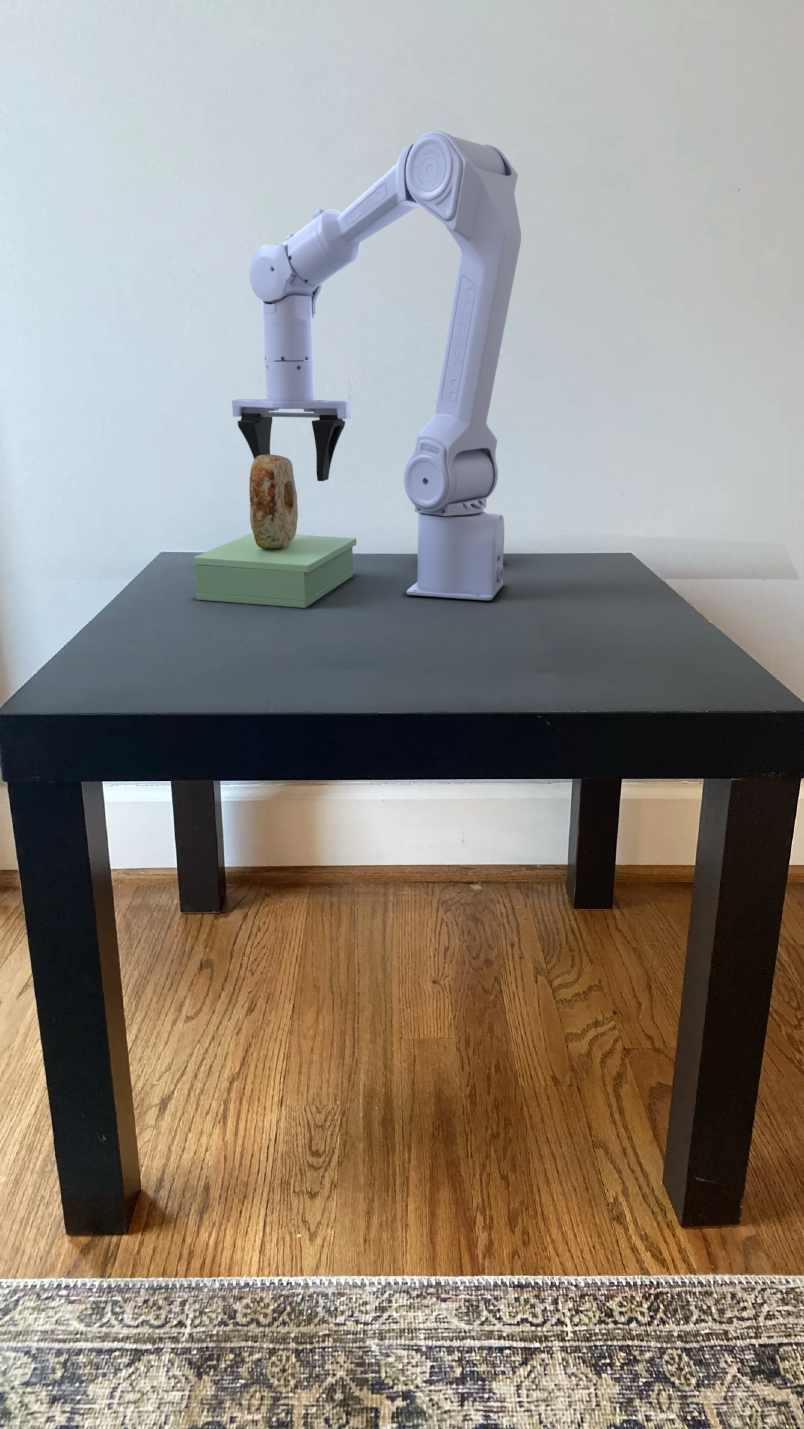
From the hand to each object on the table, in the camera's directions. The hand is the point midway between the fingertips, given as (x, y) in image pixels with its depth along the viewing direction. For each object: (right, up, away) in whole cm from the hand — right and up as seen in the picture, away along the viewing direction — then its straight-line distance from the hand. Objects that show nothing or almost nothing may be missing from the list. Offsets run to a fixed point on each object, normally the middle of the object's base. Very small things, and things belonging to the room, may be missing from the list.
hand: (293, 479), depth 116 cm
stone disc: (-1, -10, -10) cm, 15 cm away
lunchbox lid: (0, -11, -10) cm, 15 cm away
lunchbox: (-1, -15, -9) cm, 17 cm away
